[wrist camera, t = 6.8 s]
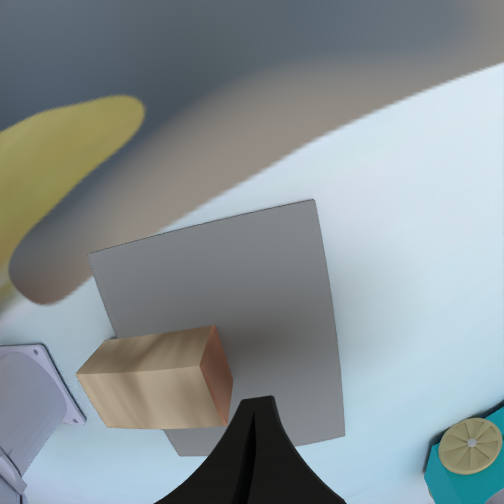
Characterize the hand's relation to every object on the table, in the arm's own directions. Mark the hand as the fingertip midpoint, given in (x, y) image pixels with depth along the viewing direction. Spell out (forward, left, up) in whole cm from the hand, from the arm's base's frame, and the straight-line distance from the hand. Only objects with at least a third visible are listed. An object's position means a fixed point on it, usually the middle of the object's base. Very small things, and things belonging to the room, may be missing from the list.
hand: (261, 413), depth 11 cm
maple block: (-2, 0, -4) cm, 4 cm away
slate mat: (-2, -1, -6) cm, 6 cm away
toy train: (+21, -18, -6) cm, 28 cm away
